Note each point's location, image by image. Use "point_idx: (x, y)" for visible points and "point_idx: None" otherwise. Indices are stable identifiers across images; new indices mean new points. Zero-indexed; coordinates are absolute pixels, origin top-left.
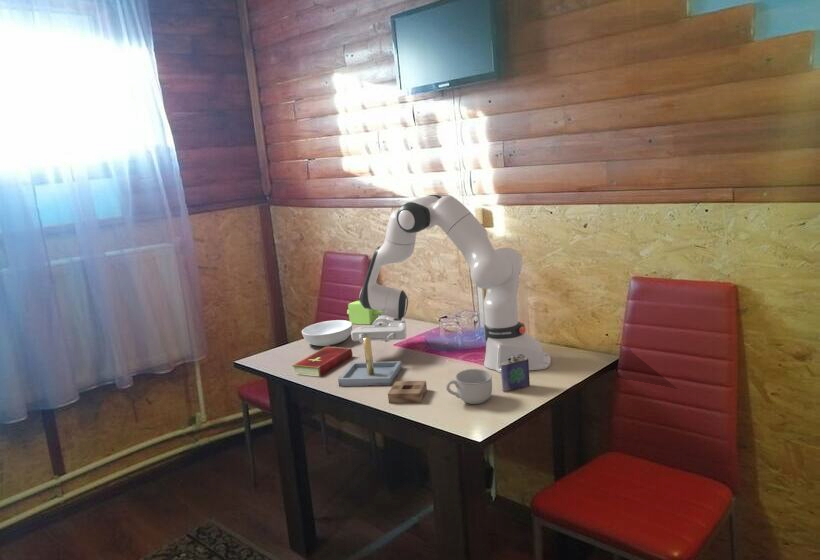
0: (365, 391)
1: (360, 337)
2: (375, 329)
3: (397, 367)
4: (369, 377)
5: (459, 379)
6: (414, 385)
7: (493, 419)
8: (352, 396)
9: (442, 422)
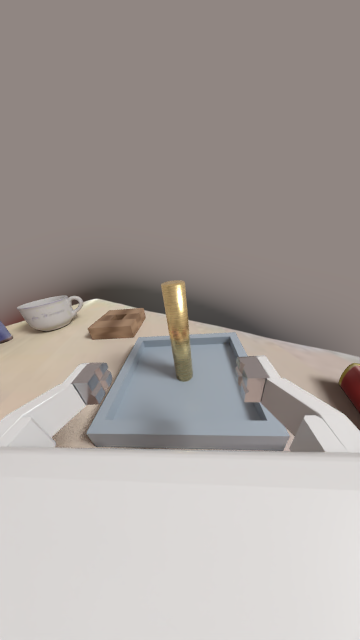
0: None
1: (261, 362)
2: (167, 618)
3: (113, 385)
4: None
5: (57, 308)
6: (108, 320)
7: None
8: (193, 324)
9: (106, 305)
